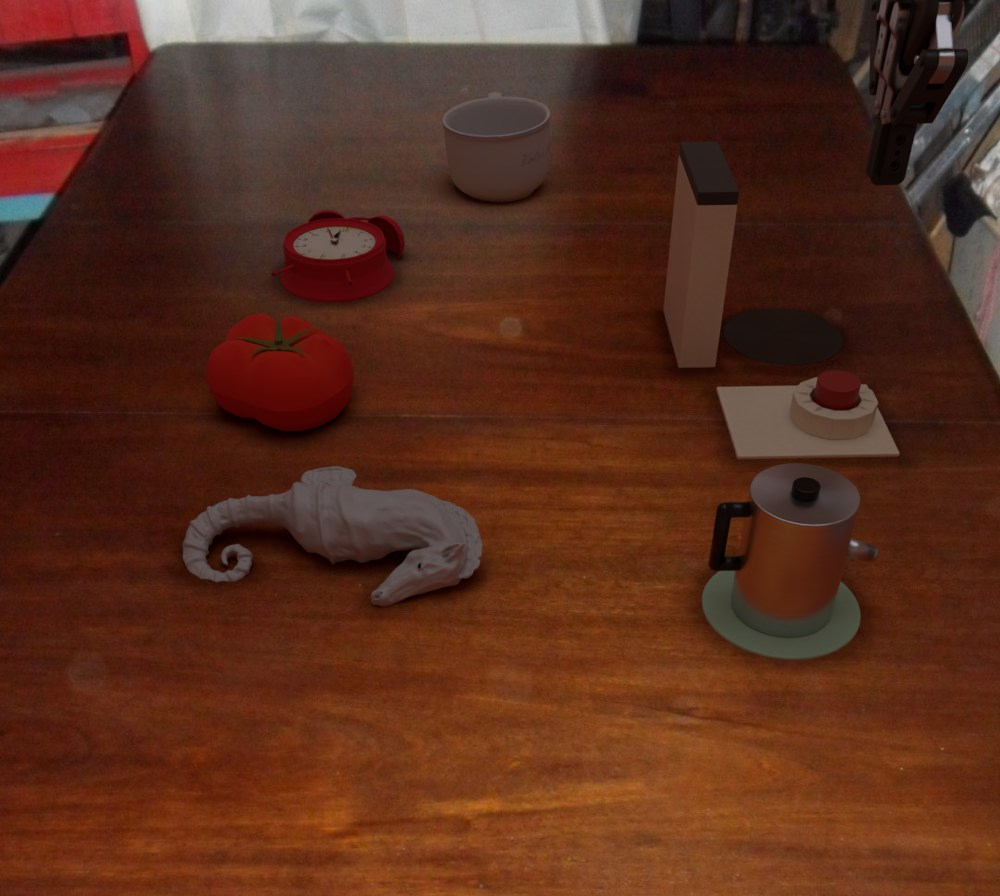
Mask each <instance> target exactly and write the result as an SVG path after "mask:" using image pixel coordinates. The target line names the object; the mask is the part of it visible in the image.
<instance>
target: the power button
mask: <svg viewBox="0 0 1000 896" xmlns="http://www.w3.org/2000/svg"><path fill="white" fill-rule="evenodd" d="M817 377H818V378H817V383H816V388H815V392H814V397H813V400H814V403H816V404H817V405H819V406H820V407H823V408H827V409H830V410H834V411H846V410H851V409H853V408H854V407H855V406H856V404H857V399H858V395H859V391H860V387H861V384H862V381H861V379H860V378H859V377H858V376H857V375H855V374H854V373H852V372H848V371H844V370H839V369H838V370H837V369H831V370H826V371H823V372H821V373H820V374H819V375H818V376H817Z"/></svg>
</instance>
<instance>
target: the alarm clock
mask: <svg viewBox="0 0 1000 896" xmlns="http://www.w3.org/2000/svg"><path fill="white" fill-rule="evenodd" d="M405 243H406V242H405V235H404V232H403V230H402V228H401V226H400V224H399V223H398V222H397V221H396V220H395V219H393V218H391V217H389V216H387V215H376V216H372V217H364V216H353V217H352V216H351V217H347V218H346V217H345V216H344V215H343V214H341V213H340V212H338V211H335V210H332V209H323V210H319V211H316V212H315V213H313V214H312V215H311V216H310V217H309V219H308V221H307V222H305V223H302V224H299V225H297V226H296V227H294V228H292V229H290V230H289V231H288V232H287V233H286V234H285V236H284V238H283V243H282V250H283V256H284V265H283V268H281V269H278V270H277V271H276V270H274V271H272V272H271V276H272V277H274V278H275V277H277V276H278V275H279V274H280V283H281V286H282V287H283V289H284V290H285V291H286V292H288V293H289V294H290V295H292V296H294V297H297V298H299V299H303V300H306V301H311V302H318V303H328V304H329V303H332V304H333V303H347V302H355V301H359V300H363V299H366V298H370V297H372V296H375V295H377V294H379V293H381V292H383V291H384V290H386V289H387V288H388V287H390V285H391V284H393V281H394V279H395V268H394V267H393V265H392V263H391V262H390V259H389V258H388V255H387V251H389V252H392V253H395V254H397V255H398V257H397V260H399V259H400V258H401V257H402V256H403V253H404V252H405V251H404V250H405V245H406V244H405Z"/></svg>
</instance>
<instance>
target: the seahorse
mask: <svg viewBox="0 0 1000 896" xmlns="http://www.w3.org/2000/svg"><path fill="white" fill-rule="evenodd" d="M356 478H357V473H356V472H355V470H354V469H352V468H351V469H350V468H348V467H343V466H338V465H333V466H327V467H319V468H315V469H310V470H307V471H305V472H304V473H303V474H302V475H301V477H300V481H295V482H293V483H292V485H291V488H289V490H287V491H285V492H282V493H278V494H274V493H270V494H268V495H263V496H262V495H261V496H260V495H254V496H253V495H251V494H247V495H246V496H243V497H240V498H233V497H229V498H227V500H222V501H220V502H218V503H215V504H214V505H213V506H211V505H208V506H207V507H206V510H205V511H203V512H201V513H200V514H198V515H197V517H196V518H194V519H193V520H190V522H189V526H188V528H187V530H186V532H185V536H184V540H183V542H182V545H181V546H182V560H183V563H184V566H185V568H186V570H187V571H188V572H189V573H191V574H192V575H194V576H196V577H198V578H199V579H200V580H210V581H213V582H214V583H219V582H233V583H234V582H237V581H239V580H241V579H244V578H245V577H246V576H247V575H249V574H250V571H251V570H250V569H251V567H252V564H253V559H254V555H253V553H252V551H250V550H249V549H248V548H247V547H244V546H243V545H241V544H240V543H235V544H230V545H228V546H226V547H224V548H223V550H222V551H221V555H220V559H221V563H222V564H223V565H224V566H227V567H228V566H229V562H228V559H229V557H230V556H232V555H235V556H236V560H237V564H236V565H235V566H234V567H233V569H231V570H230V569H227V570H226V571H225V572H221V571H220V570H215V569H212V567H211V566H210V565H209V564H208V559H207V557H208V556H209V554H210V551H209V547H210V546H212V545H213V541H214V540H213V539H214V538H215V537H216V536H222V533H223V532H224V531H225V530H227V529H230V528H233V527H235V528H239V527H241V526H242V525H256V524H259V523H268V524H271V525H274V526H277V527H282V528H284V529H286V530H287V531H288V532H289V533H290V534H291V536H292V537H293V539H294V540H295V541H296V542H297V543H298V545H300V546H301V547H302V548H303V549H304V550H305V551H306V552H307V553H309V554H314V553H316V554H317V555H320V556H321V557H323V558H325V559H327V560H328V561H329V562H330V564H331V565H335V564H336V563H342V562H345V561H348V560H351V561H355V562H358V563H359V564H365V563H367V562H370V561H378V560H381V559H383V558H385V557H386V556H388V555H389V554H392V553H394V552H402V551H404V552H405V551H410V552H409V553H407V555H406V557H405V559H404V560H403V562H402V563H400V564H399V565H398V566H397V567H395V568H394V570H392V571H391V572H390V574H389V575H388V576H387V578H385V580H384V581H383V582H382V583H381V584H379V586H378V587H377V588H376V589H374V590H373V591H372V592H371V594H370V602H371V603H370V604H372V605H373V606H379V607H381V608H384V607H388V606H392V605H394V604H398V603H399V602H402V601H403V600H405V599H408V598H409V597H413V596H416V595H424V594H427V593H429V592H432V591H436V590H440V589H442V588H448V587H453V586H457V585H458V584H459V583H460V582H461V580H462V579H469V578H470V577H472V576H473V574H474V572H475V571H476V570H478V569H479V568H480V564H481V559H480V558H481V557H482V556H483V548H484V545H483V539H481V533H480V529H479V526H478V525H477V520H476V519H475V518H474V517H473V516H472V515H471V514H470V513H468V511H467V510H466V509H465V508H462V507H461V506H459V505H456V504H455V503H454V502H450V501H448V500H442V499H441V498H439V497H436V496H435V495H433V494H429V493H427V492H424V491H421V490H417V489H412V488H403V489H393V490H379V489H368V488H366V489H365V488H360V487H358V486H355V485H353V484H354V482H355V480H356Z"/></svg>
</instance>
